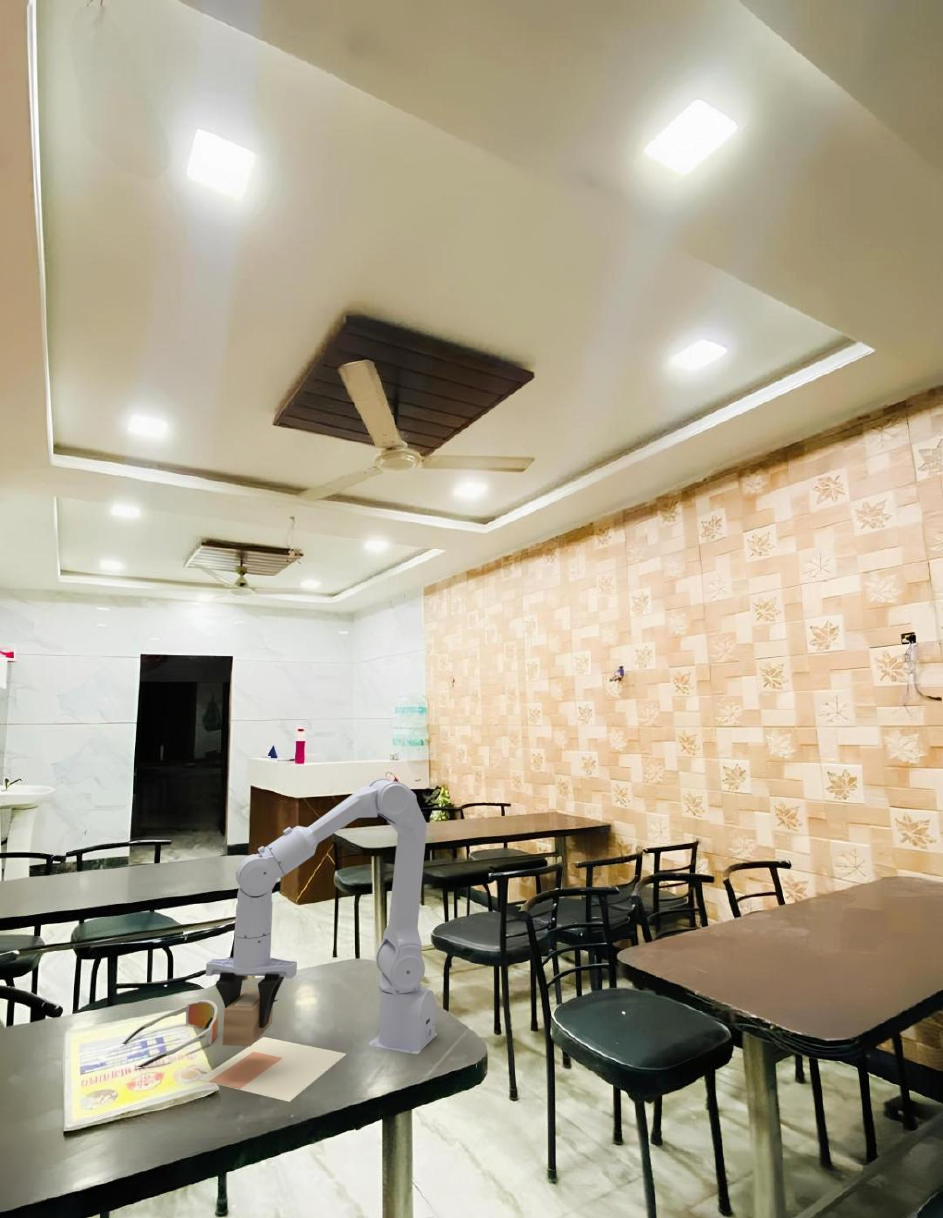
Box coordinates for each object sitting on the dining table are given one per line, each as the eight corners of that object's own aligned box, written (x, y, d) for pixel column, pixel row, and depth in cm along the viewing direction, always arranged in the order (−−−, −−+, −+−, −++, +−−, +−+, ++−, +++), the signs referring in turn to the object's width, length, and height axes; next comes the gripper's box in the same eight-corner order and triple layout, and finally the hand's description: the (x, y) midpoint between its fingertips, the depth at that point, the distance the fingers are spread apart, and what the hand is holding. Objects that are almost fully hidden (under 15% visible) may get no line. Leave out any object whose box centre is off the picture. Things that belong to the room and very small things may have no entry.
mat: (346, 1057, 107) (346, 1053, 107) (289, 1106, 93) (289, 1100, 94) (263, 1040, 113) (263, 1036, 113) (198, 1083, 100) (198, 1078, 100)
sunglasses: (231, 1045, 112) (229, 1015, 113) (136, 1090, 102) (134, 1057, 103) (204, 1018, 123) (202, 991, 123) (116, 1057, 113) (114, 1027, 113)
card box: (250, 1046, 99) (252, 1009, 100) (222, 1045, 100) (224, 1008, 101) (272, 1023, 107) (273, 989, 108) (245, 1022, 108) (247, 988, 108)
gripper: (304, 926, 109) (301, 1015, 107) (222, 925, 111) (217, 1012, 108) (288, 940, 102) (285, 1035, 100) (201, 937, 104) (195, 1031, 101)
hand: (248, 1024), depth 104 cm, fingers closed on card box, 4 cm apart
